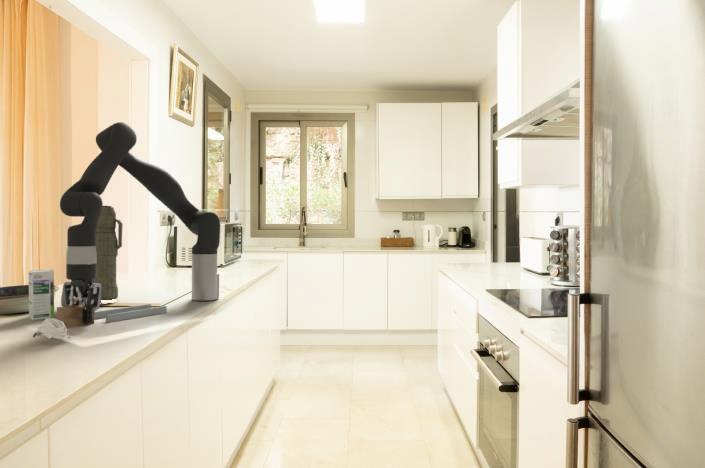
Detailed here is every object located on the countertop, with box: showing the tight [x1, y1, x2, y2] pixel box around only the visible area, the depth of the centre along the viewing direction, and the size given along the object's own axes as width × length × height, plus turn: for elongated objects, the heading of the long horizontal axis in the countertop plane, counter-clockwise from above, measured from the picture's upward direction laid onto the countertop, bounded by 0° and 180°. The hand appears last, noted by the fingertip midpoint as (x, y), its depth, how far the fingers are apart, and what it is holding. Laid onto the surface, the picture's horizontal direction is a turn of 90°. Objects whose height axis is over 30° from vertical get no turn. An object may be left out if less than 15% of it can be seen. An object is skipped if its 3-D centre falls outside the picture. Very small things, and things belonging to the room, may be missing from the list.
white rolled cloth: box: [32, 318, 68, 340], centre depth 121 cm, size 8×7×5 cm
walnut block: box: [56, 304, 95, 328], centre depth 137 cm, size 8×5×5 cm, turn 139°
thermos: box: [92, 205, 124, 300], centre depth 172 cm, size 9×12×35 cm
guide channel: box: [94, 303, 168, 323], centre depth 151 cm, size 20×9×2 cm, turn 149°
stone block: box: [60, 281, 101, 312], centre depth 156 cm, size 12×5×10 cm, turn 84°
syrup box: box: [28, 269, 55, 321], centre depth 146 cm, size 6×6×14 cm
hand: (81, 321), depth 138 cm, fingers closed on walnut block, 5 cm apart
